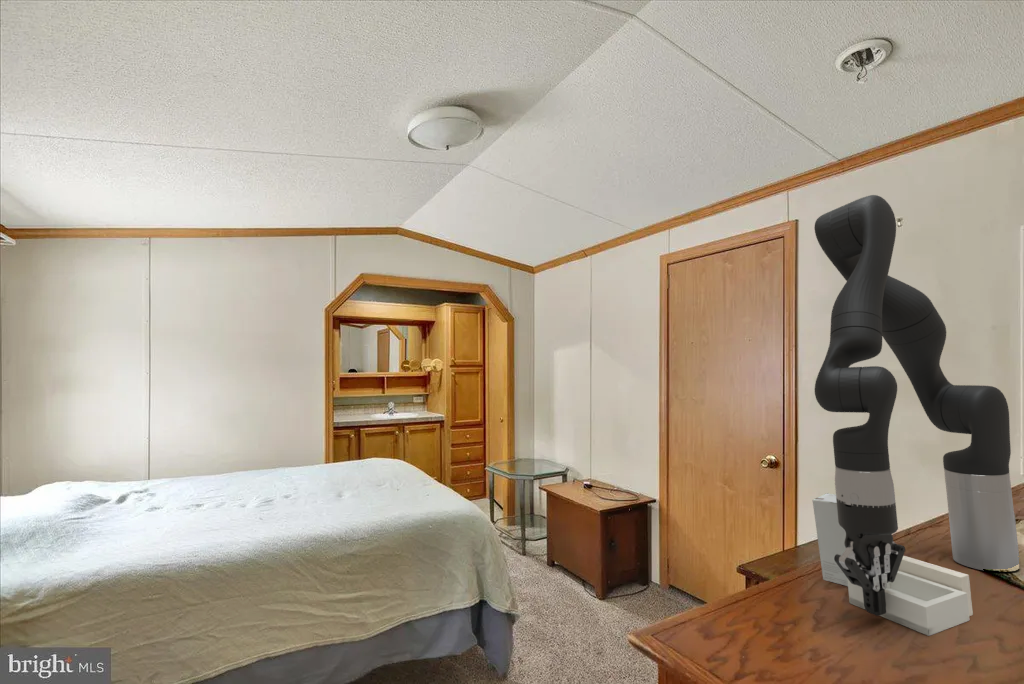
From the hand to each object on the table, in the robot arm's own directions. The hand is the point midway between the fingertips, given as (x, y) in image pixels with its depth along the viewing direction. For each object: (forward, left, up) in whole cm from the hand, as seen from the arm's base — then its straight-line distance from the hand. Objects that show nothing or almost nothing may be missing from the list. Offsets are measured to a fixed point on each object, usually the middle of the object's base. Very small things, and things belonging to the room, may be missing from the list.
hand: (875, 612), depth 78 cm
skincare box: (-10, -11, -2) cm, 15 cm away
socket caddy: (-7, 0, -1) cm, 7 cm away
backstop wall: (-13, 0, -1) cm, 13 cm away
